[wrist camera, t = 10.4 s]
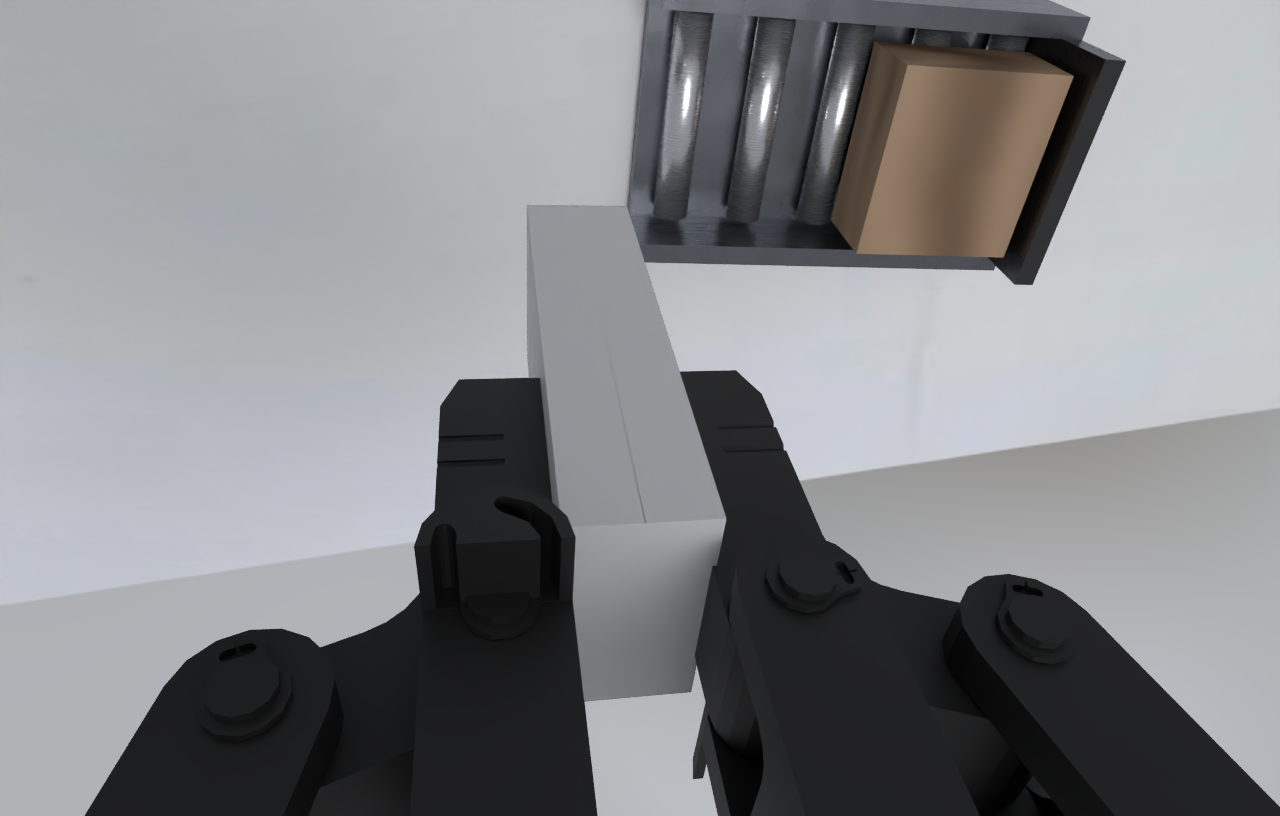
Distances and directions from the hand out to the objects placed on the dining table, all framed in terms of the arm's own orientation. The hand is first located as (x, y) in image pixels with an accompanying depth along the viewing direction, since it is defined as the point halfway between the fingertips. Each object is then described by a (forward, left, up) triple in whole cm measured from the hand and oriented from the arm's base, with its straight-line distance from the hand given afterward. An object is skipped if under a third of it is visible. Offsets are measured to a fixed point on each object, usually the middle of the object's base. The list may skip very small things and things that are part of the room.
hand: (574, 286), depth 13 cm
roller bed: (+16, -7, -31) cm, 36 cm away
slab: (+20, -7, -28) cm, 36 cm away
